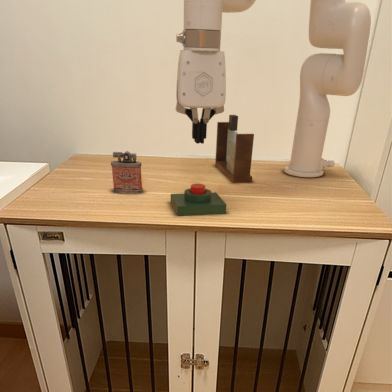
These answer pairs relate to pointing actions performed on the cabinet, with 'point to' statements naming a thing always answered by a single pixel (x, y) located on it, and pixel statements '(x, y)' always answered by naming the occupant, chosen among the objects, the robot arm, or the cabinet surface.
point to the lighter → (126, 173)
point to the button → (198, 188)
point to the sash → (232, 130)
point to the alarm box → (197, 203)
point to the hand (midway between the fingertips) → (198, 142)
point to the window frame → (234, 154)
